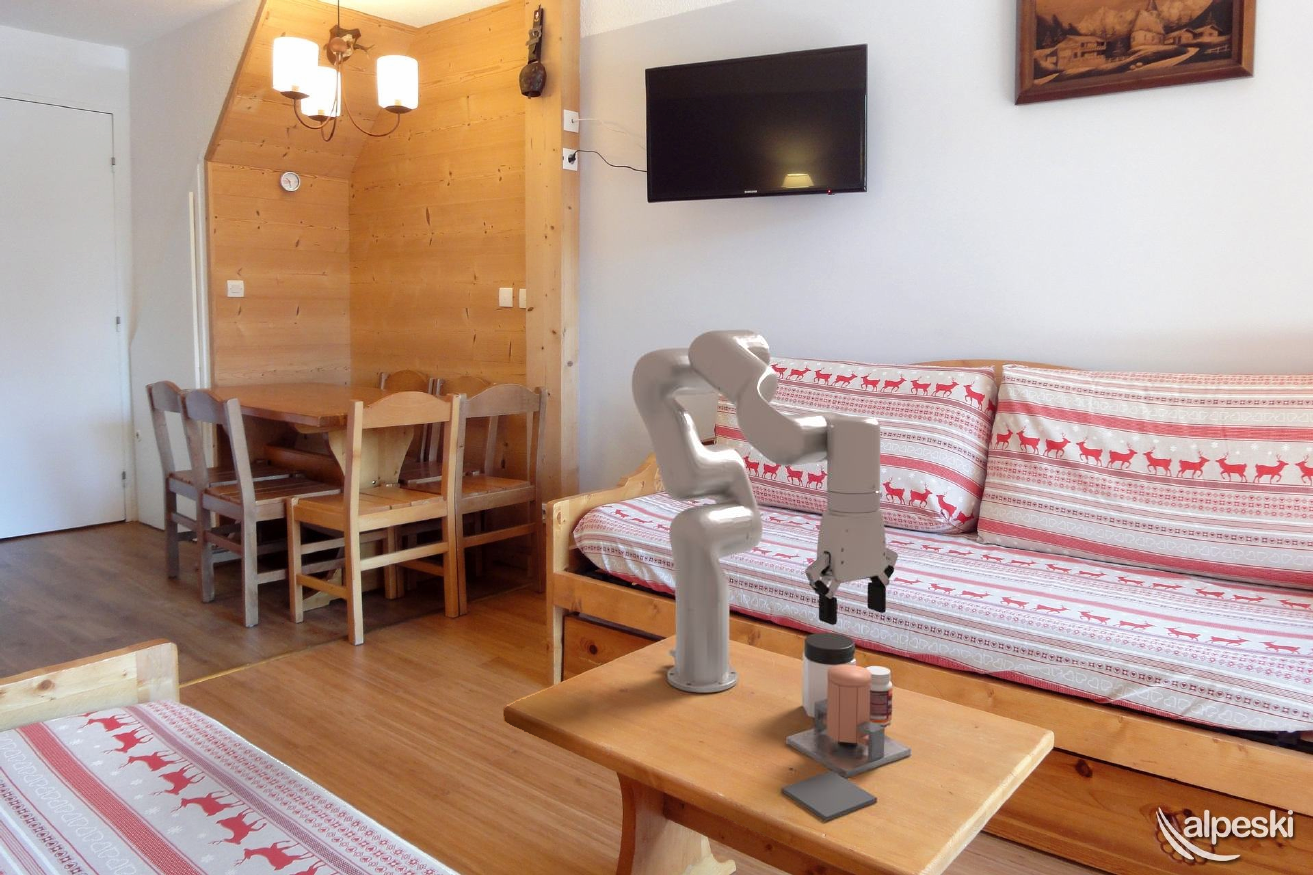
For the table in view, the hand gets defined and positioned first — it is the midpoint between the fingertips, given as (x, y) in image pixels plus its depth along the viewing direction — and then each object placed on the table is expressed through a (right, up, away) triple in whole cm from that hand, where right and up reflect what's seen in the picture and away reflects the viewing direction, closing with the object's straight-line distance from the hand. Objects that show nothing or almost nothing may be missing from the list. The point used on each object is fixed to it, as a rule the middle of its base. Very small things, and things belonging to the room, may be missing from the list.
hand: (852, 616), depth 138 cm
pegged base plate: (0, -21, +3) cm, 21 cm away
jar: (-1, -19, +17) cm, 25 cm away
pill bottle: (+7, -19, +13) cm, 24 cm away
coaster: (-6, -22, -11) cm, 26 cm away
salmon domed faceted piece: (0, -18, +3) cm, 18 cm away
